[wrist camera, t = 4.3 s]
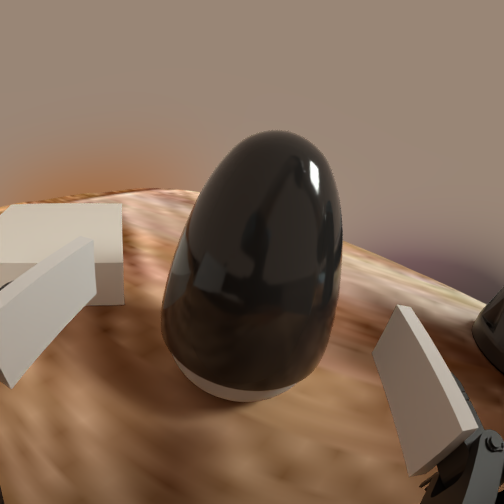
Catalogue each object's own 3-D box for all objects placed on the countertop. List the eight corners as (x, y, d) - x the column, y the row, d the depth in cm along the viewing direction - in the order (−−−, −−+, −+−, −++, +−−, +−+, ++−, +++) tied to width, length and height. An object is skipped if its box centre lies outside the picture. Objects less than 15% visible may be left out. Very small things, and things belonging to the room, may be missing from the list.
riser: (120, 232, 35) (121, 203, 33) (124, 304, 22) (123, 262, 20) (13, 233, 28) (11, 204, 26) (-32, 302, 15) (-43, 262, 13)
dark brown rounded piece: (309, 340, 23) (369, 156, 17) (298, 444, 13) (426, 166, 8) (194, 307, 24) (223, 122, 18) (133, 390, 15) (136, 105, 9)
